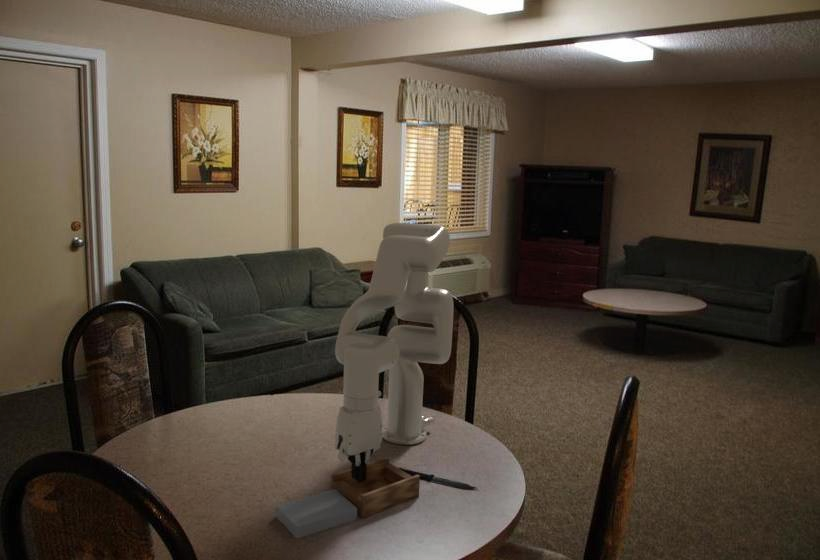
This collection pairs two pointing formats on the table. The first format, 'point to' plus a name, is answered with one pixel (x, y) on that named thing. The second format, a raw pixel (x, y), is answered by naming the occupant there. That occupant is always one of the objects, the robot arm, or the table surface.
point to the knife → (438, 479)
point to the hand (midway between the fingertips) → (358, 478)
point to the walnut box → (377, 487)
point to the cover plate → (316, 513)
